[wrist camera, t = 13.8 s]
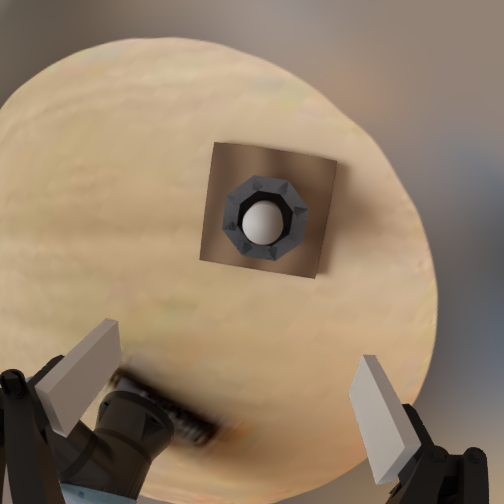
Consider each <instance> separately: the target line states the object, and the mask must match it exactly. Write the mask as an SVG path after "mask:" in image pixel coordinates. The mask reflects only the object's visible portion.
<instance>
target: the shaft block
mask: <svg viewBox="0 0 504 504" xmlns="http://www.w3.org/2000/svg"><path fill="white" fill-rule="evenodd" d="M336 165H337V161H334V160H329V159H324V158H319V157H314V156H309V155H303V154H297V153H292V152H286V151H280V150H273V149H266V148H259V147H252V146H244V145H236V144H228V143H218V142H214V147H213V154H212V161H211V168H210V175H209V182H208V190H207V198H206V206H205V214H204V223H203V232H202V241H201V250H200V260H203V261H209V262H215V263H220V264H226V265H232V266H238V267H244V268H250V269H257V270H263V271H269V272H275V273H281V274H288V275H294V276H300V277H307V278H313V279H315V277H316V272H317V268H318V263H319V258H320V254H321V249H322V244H323V239H324V234H325V229H326V223H327V218H328V213H329V207H330V202H331V196H332V190H333V184H334V178H335V171H336ZM253 175H257V176H263V177H270V178H276V179H282V180H288V181H289V182H290V183H291V185H292V186H293V187H294V189H295V190H296V191H297V193H298V194H299V196H300V197H301V199H302V200H303V201H304V203H305V204H306V206H307V207H308V208H309V210H308V216H307V222H306V227H305V232H304V238H303V242H302V243H301V244H299V245H298V246H296V247H295V248H294V249H292V250H291V251H289V252H288V253H286V254H285V255H283V256H282V257H280V258H279V259H277V260H276V261H271V260H265V259H259V258H253V257H247V256H242V255H241V254H240V252H239V251H238V250H237V248H236V247H235V246H234V244H233V243H232V242H231V240H230V239H229V238H228V236H227V235H226V234H225V232H224V231H223V230H222V225H223V217H224V209H225V202H226V196H227V195H228V194H229V193H231V192H232V191H233V190H235V189H236V188H237V187H239V186H240V185H241V184H243V183H244V182H245V181H247V180H248V179H249V178H251V177H252V176H253ZM289 213H290V207H289V205H288V204H287V203H286V201H285V200H284V198H283V197H282V196H281V194H277V193H271V192H264V191H257V192H255V193H254V194H253V195H251V196H250V197H248V198H247V199H246V200H245V206H244V213H243V230H244V233H245V235H246V236H247V238H248V239H249V240H251V241H252V242H254V243H256V244H261V245H265V244H270V243H272V242H274V241H275V240H277V239H278V237H279V236H280V235H281V233H282V230H283V228H284V227H285V226H287V224H288V218H289Z"/></svg>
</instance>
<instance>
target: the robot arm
mask: <svg viewBox="0 0 504 504" xmlns="http://www.w3.org/2000/svg"><path fill="white" fill-rule="evenodd" d="M121 363H122V355H121V347H120V338H119V327H118V321H116V320H112V319H108V318H106V319H105V320H104V321H102V322H101V323H100V324H99V325H98V326H97V327H96V328H95V329H94V330H93V331H92V332H90V333H89V334H88V335H87V336H86V337H85V338H84V339H83V340H82V341H81V342H80V343H79V344H78V345H77V346H76V347H74V348H73V349H72V350H71V351H70V352H69V353H68V354H67V355H66V356H63V355H59V356H57V357H55V358H53V359H51V360H50V361H49V362H48V363H47V364H46V366H44V367H43V368H42V369H41V370H40V371H38V372H37V373H36V374H35V375H34V376H31V377H28V378H26V379H25V377H24V374H23V373H22V372H21V371H19V370H17V369H9V370H6V371H4V372H2V373H1V375H0V384H1V387H2V388H0V504H12V503H13V504H65V500H64V497H66V498H67V499H69V500H70V501H72V502H73V503H75V504H136V503H137V501H136V500H137V498H138V495H139V493H140V490H141V488H142V485H143V483H144V480H145V478H146V475H147V473H148V470H149V468H150V465H151V463H152V461H153V460H154V459H155V458H156V457H157V456H158V455H159V454H160V453H161V452H162V451H163V450H164V449H165V448H166V447H167V446H168V445H169V444H170V442H171V439H172V437H173V434H174V428H173V425H172V423H171V421H170V419H169V418H168V417H167V415H166V414H165V413H164V412H163V411H162V410H161V409H160V408H158V407H157V406H156V405H154V404H153V403H151V402H150V401H148V400H146V399H145V398H143V397H140V396H138V395H135V394H133V393H129V392H124V391H114V392H111V393H109V394H107V395H106V396H105V398H104V399H103V401H102V402H101V404H100V406H99V411H98V416H97V421H96V426H95V429H94V431H92V430H90V429H89V428H88V427H87V426H86V425H85V424H84V423H83V422H82V421H81V420H80V418H81V417H82V415H83V414H84V412H85V411H86V410H87V408H88V407H89V406H90V404H91V403H92V401H93V400H94V399H95V397H96V396H97V395H98V393H99V392H100V391H101V389H102V388H103V387H104V385H105V384H106V383H107V381H108V380H109V379H110V377H111V376H112V375H113V373H114V372H115V371H116V369H117V368H118V367H119V365H120V364H121ZM348 395H349V398H350V401H351V404H352V407H353V410H354V413H355V416H356V419H357V422H358V426H359V429H360V432H361V435H362V439H363V442H364V445H365V448H366V452H367V455H368V458H369V462H370V465H371V469H372V472H373V476H374V479H375V483H376V485H379V484H384V483H391V482H392V481H393V480H394V479H395V478H396V476H397V475H398V477H399V480H400V482H399V483H398V484H397V485H396V486H395V487H394V488H393V490H392V491H391V492H390V494H391V496H390V497H389V499H388V501H387V502H386V504H489V482H488V467H487V457H486V454H485V453H484V452H483V451H482V450H481V449H479V448H476V447H470V448H468V449H467V450H466V451H465V452H464V454H463V455H450V454H449V453H448V452H447V451H446V450H445V449H444V448H442V447H440V446H436V445H434V443H433V442H432V440H431V438H430V436H429V434H428V432H427V430H426V428H425V426H424V425H423V423H422V421H421V419H420V417H419V415H418V413H417V412H416V410H415V409H414V408H413V407H412V406H411V405H410V404H401V402H400V400H399V398H398V397H397V395H396V393H395V391H394V389H393V387H392V385H391V383H390V381H389V380H388V378H387V376H386V374H385V372H384V370H383V368H382V367H381V365H380V363H379V361H378V359H377V358H376V356H375V355H362V357H361V360H360V363H359V366H358V368H357V371H356V374H355V377H354V379H353V382H352V385H351V387H350V390H349V392H348ZM59 482H60V483H59ZM63 496H64V497H63Z"/></svg>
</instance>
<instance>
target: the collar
mask: <svg viewBox="0 0 504 504" xmlns="http://www.w3.org/2000/svg"><path fill="white" fill-rule="evenodd" d="M257 191H264V192H271V193H277V194H281V196H282V197H283V198H284V200H285V201H286V203H287V204H288V205H289V207H290V213H289V218H288V224H287V226H285V227H284V228H283V230H282V233H281V235H280V236H279V237H278V239H277V240H275V241H274V242H272V243H270V244H265V245H261V244H256V243H254V242H252V241H251V240H249V239H248V238H247V236H246V235H245V233H244V230H243V213H244V206H245V200H246V199H247V198H248V197H250V196H251V195H253V194H254V193H255V192H257ZM308 210H309V208H308V207H307V206H306V204H305V203H304V201H303V200H302V199H301V197H300V196H299V194H298V193H297V191H296V190H295V189H294V187H293V186H292V185H291V183H290V182H289V181H288V180H282V179H276V178H270V177H263V176H257V175H253V176H252V177H251V178H249V179H248V180H247V181H245V182H244V183H243V184H241V185H240V186H239V187H237V188H236V189H235V190H233V191H232V192H231V193H229V194H228V195H227V196H226V202H225V209H224V217H223V225H222V230H223V231H224V232H225V234H226V235H227V236H228V238H229V239H230V240H231V242H232V243H233V244H234V246H235V247H236V248H237V250H238V251H239V252H240V254H241V255H242V256H247V257H253V258H259V259H265V260H271V261H276V260H277V259H279V258H280V257H282V256H283V255H285V254H286V253H288V252H289V251H291V250H292V249H294V248H295V247H296V246H298V245H299V244H301V243H302V242H303V238H304V232H305V227H306V222H307V216H308Z"/></svg>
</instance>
